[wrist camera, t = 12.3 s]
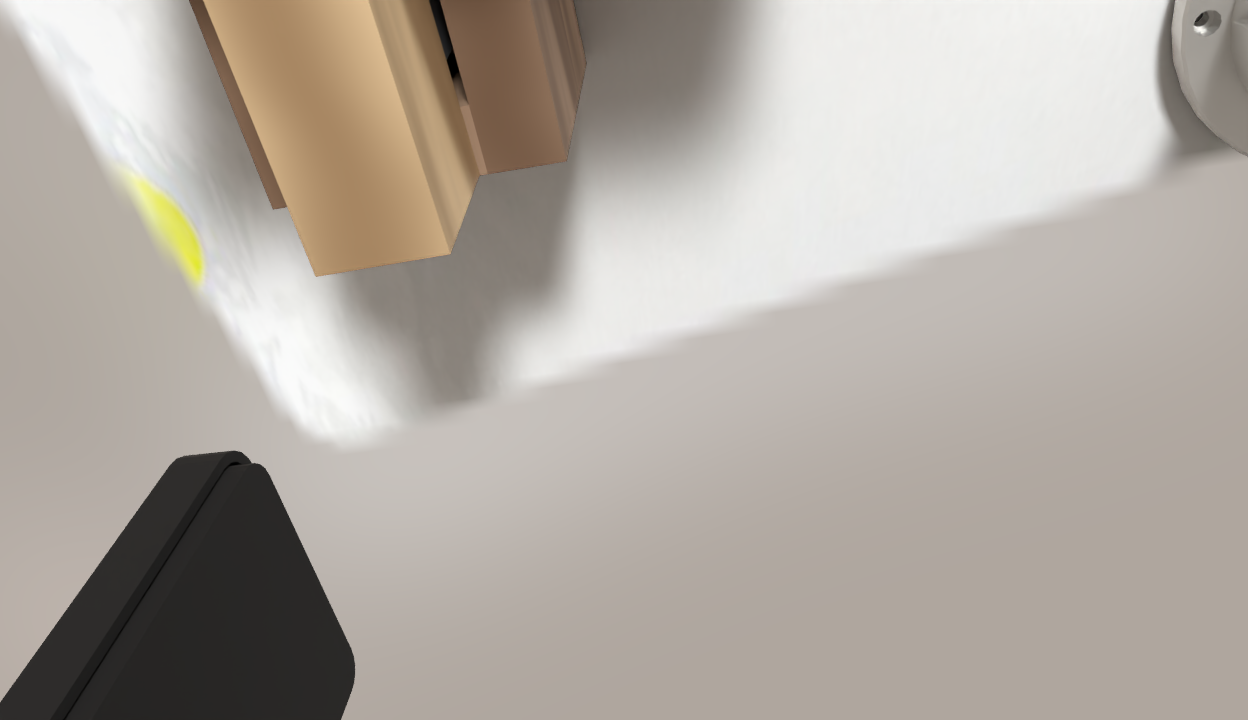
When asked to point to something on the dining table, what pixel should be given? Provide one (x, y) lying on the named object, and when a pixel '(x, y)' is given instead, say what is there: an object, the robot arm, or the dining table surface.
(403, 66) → the tan grey block
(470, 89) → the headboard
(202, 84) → the dining table surface
